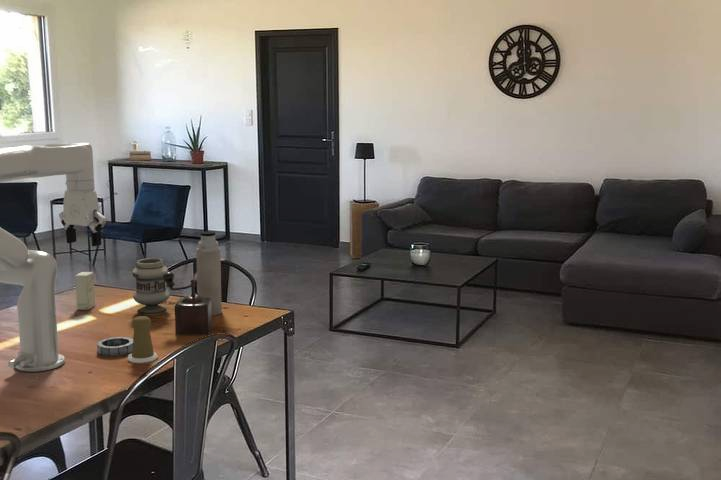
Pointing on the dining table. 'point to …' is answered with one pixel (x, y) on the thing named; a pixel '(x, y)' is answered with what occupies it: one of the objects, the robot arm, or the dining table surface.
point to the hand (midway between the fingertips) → (84, 243)
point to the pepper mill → (190, 310)
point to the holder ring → (115, 346)
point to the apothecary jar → (150, 286)
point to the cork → (142, 338)
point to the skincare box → (85, 290)
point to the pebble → (142, 359)
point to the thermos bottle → (209, 270)
